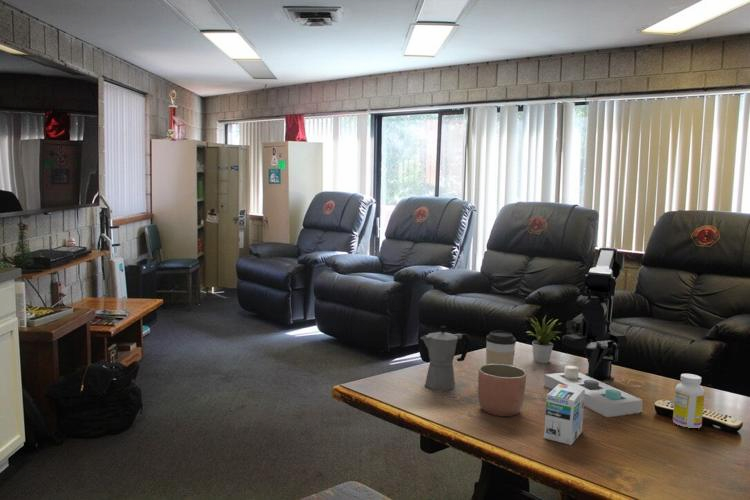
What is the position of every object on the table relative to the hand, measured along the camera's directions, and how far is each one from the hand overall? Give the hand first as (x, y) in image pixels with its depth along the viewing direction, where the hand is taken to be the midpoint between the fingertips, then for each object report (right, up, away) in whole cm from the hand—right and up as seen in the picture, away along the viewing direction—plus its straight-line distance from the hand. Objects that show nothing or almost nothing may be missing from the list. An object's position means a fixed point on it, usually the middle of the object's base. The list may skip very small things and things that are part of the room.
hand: (592, 370), depth 171 cm
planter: (-29, -9, -11) cm, 32 cm away
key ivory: (-3, -5, +9) cm, 11 cm away
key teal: (+3, -8, -7) cm, 11 cm away
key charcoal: (0, -8, +1) cm, 8 cm away
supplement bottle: (+18, -11, -16) cm, 27 cm away
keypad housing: (0, -8, +1) cm, 8 cm away
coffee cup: (-24, -6, +14) cm, 28 cm away
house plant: (-5, -5, +38) cm, 38 cm away
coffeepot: (-41, -6, +7) cm, 42 cm away
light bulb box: (-16, -11, -26) cm, 32 cm away
